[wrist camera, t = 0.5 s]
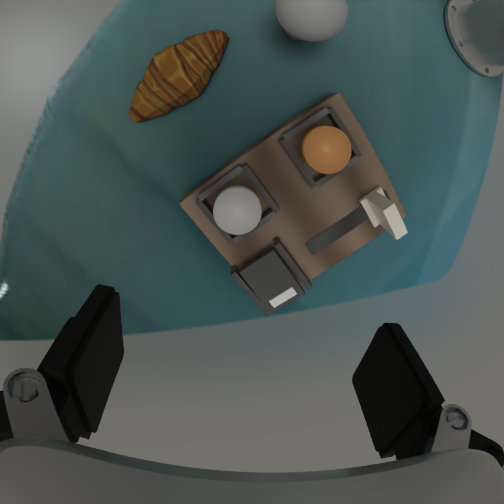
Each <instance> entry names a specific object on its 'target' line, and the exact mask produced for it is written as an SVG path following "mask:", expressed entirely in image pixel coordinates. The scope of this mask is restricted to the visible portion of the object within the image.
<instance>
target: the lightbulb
mask: <svg viewBox="0 0 504 504" xmlns="http://www.w3.org/2000/svg"><path fill="white" fill-rule="evenodd" d="M275 13H276V16H277V19H278V21H279V23H280V24H281V26H282V27H283V28H284V29H285V31H286V34H287V35H288V36H289V37H290V38H291V39H294V40H305V41H324V40H328V39H330V38H333V37H334V36H336V35H337V34H339V33H340V32H341V31H342V30H343V28H344V27H345V25H346V23H347V19H348V6H347V3H346V1H345V0H276V2H275Z"/></svg>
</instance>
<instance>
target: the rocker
mask: <svg viewBox="0 0 504 504" xmlns="http://www.w3.org/2000/svg"><path fill="white" fill-rule="evenodd" d="M239 273H240V274H241V276H242V277H243V278H244V279H245V281H246V282H247V283H248V285H249V286H250V287H251V289H252V290H253V291H254V292H255V294H256V295H257V296H258V298H259V299H260V300H261V301H262V303H263V304H264V305H265V307H266V308H267V309H268V310H269V312H270V313H271V314H272V313H274V312H276V311H277V310H279V309H281V308H282V307H284V306H286V305H287V304H289V303H291V302H292V301H294V300H296V299H297V298H299V297H300V296H302V295H304V294H305V292H304V289H303V288H302V286H301V285H300V283H299V282H298V281H297V279H296V278H295V276H294V275H293V274H292V272H291V271H290V269H289V268H288V267H287V265H286V264H285V262H284V261H283V260H282V258H281V257H280V255H279V254H278V253H277V251H276V250H275V248H274V247H273V248H272V249H270V250H269V251H267V252H266V253H264V254H263V255H261V256H260V257H258V258H257V259H255V260H253V261H252V262H250V263H249V264H247V265H246V266H244V267H243V268H241V269H240V272H239Z"/></svg>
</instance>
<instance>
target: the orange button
mask: <svg viewBox="0 0 504 504" xmlns="http://www.w3.org/2000/svg"><path fill="white" fill-rule="evenodd" d="M301 154H302V157H303V159H304V160H305V162H306V163H307V164H308V165H309V166H311V167H312V168H313V169H314V170H316V171H318V172H320V173H323V174H333V173H336V172H339V171H340V170H342V169H343V168H344V167H345V166H346V165H347V164H348V162H349V160H350V157H351V143H350V141H349V139H348V137H347V136H346V134H345V133H344V132H343V131H341V130H340V129H338V128H335V127H332V126H325V125H320V126H316V127H313V128H311V129H310V130H308V131H307V132H306V134H305V135H304V137H303V139H302V141H301Z"/></svg>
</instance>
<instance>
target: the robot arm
mask: <svg viewBox="0 0 504 504" xmlns="http://www.w3.org/2000/svg"><path fill="white" fill-rule="evenodd" d="M444 17H445V25H446V29H447V33H448V35H449V38H450V40H451V42H452V44H453V46H454V48H455V50H456V51H457V53H458V55H459V56H460V57H461V59H462V60H463V61H464V62H465V63H466V64H467V65H468V66H469V67H470V68H471V69H472V70H473V71H475V72H476V73H478V74H480V75H482V76H487V77H495V76H498V75H500V74H502V72H503V71H504V0H449V1H448V3H447V4H446V8H445V15H444ZM123 355H124V346H123V336H122V325H121V313H120V297H119V293H118V292H115V289H114V288H113V287H110V286H105V285H100V284H98V285H97V286H96V287H95V288H94V290H93V291H92V293H91V294H90V296H89V297H88V299H87V300H86V301H85V303H84V304H83V306H82V307H81V309H80V310H79V312H78V313H77V315H76V316H75V317H71V318H70V319H69V320H68V321H67V322H66V324H65V325H64V327H63V328H62V330H61V332H60V333H59V335H58V336H57V338H56V339H55V341H54V342H53V344H52V346H51V347H50V349H49V350H48V352H47V354H46V355H45V357H44V359H43V360H42V362H41V364H40V365H39V367H38V369H37V370H34V369H31V368H20V369H17V370H14V371H13V372H11V373H10V374H9V375H8V376H7V378H6V379H5V381H4V384H3V391H0V504H504V452H503V449H502V447H501V446H500V445H499V444H497V443H496V442H494V441H493V440H491V439H488V438H487V437H485V436H483V435H481V434H479V433H477V432H476V431H474V430H472V429H471V419H470V416H469V415H468V413H467V412H466V411H465V410H464V409H463V408H462V407H460V406H458V405H455V404H449V405H446V406H445V407H444V408H442V406H441V404H442V403H443V402H444V401H445V400H444V398H443V396H442V394H441V392H440V391H439V389H438V387H437V385H436V384H435V382H434V380H433V378H432V376H431V375H430V373H429V372H428V370H427V368H426V366H425V365H424V363H423V361H422V360H421V358H420V356H419V355H418V353H417V351H416V350H415V348H414V346H413V345H412V343H411V342H410V340H409V338H408V337H407V335H406V334H405V332H404V330H403V329H402V327H401V326H400V325H399V324H396V323H384V324H383V325H382V326H380V327H379V328H378V330H377V332H376V333H375V336H374V338H373V339H372V341H371V343H370V345H369V347H368V349H367V351H366V353H365V355H364V357H363V358H362V360H361V362H360V364H359V365H358V367H357V369H356V371H355V373H354V374H353V378H352V382H353V385H354V389H355V391H356V394H357V397H358V400H359V403H360V405H361V409H362V411H363V414H364V417H365V420H366V423H367V426H368V429H369V432H370V435H371V438H372V441H373V444H374V447H375V450H376V451H378V452H379V454H380V457H381V458H387V457H392V456H393V455H396V460H395V461H391V462H386V463H380V464H374V465H368V466H361V467H354V468H345V469H336V470H325V471H311V472H287V473H257V472H256V473H255V472H234V471H219V470H208V469H199V468H191V467H183V466H177V465H170V464H164V463H159V462H153V461H148V460H143V459H138V458H133V457H128V456H124V455H119V454H115V453H111V452H107V451H104V450H99V449H96V448H91V447H87V446H83V445H80V444H76V442H78V440H79V437H83V438H86V439H89V438H90V435H91V432H94V433H96V431H97V429H98V426H99V423H100V420H101V417H102V414H103V411H104V408H105V406H106V403H107V400H108V397H109V394H110V391H111V389H112V386H113V383H114V380H115V378H116V375H117V372H118V370H119V367H120V364H121V362H122V359H123Z"/></svg>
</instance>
